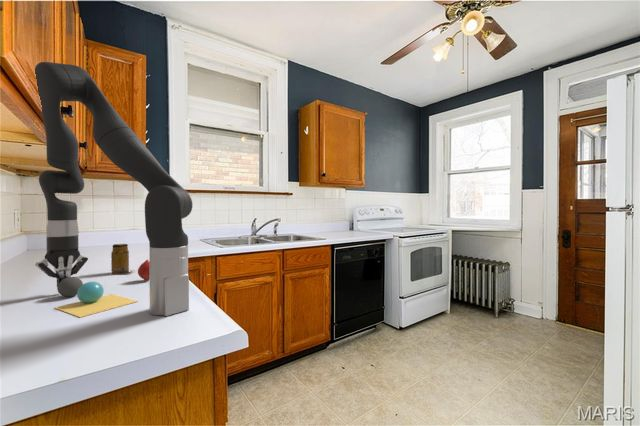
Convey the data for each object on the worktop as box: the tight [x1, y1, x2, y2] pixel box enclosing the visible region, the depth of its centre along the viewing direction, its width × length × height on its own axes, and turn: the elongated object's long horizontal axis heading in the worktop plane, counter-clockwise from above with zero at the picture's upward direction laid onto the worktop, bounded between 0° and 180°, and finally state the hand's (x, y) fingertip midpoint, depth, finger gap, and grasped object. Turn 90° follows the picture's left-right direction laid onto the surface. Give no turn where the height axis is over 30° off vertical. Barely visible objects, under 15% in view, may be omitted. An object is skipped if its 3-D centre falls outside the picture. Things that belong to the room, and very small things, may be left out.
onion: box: [137, 259, 150, 282], centre depth 109 cm, size 6×6×8 cm
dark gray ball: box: [56, 276, 84, 298], centre depth 89 cm, size 6×6×6 cm
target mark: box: [54, 294, 139, 318], centre depth 82 cm, size 14×14×1 cm
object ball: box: [76, 281, 105, 303], centre depth 83 cm, size 6×6×6 cm
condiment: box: [106, 243, 138, 276], centre depth 121 cm, size 7×8×12 cm
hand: (63, 289), depth 91 cm, fingers closed
